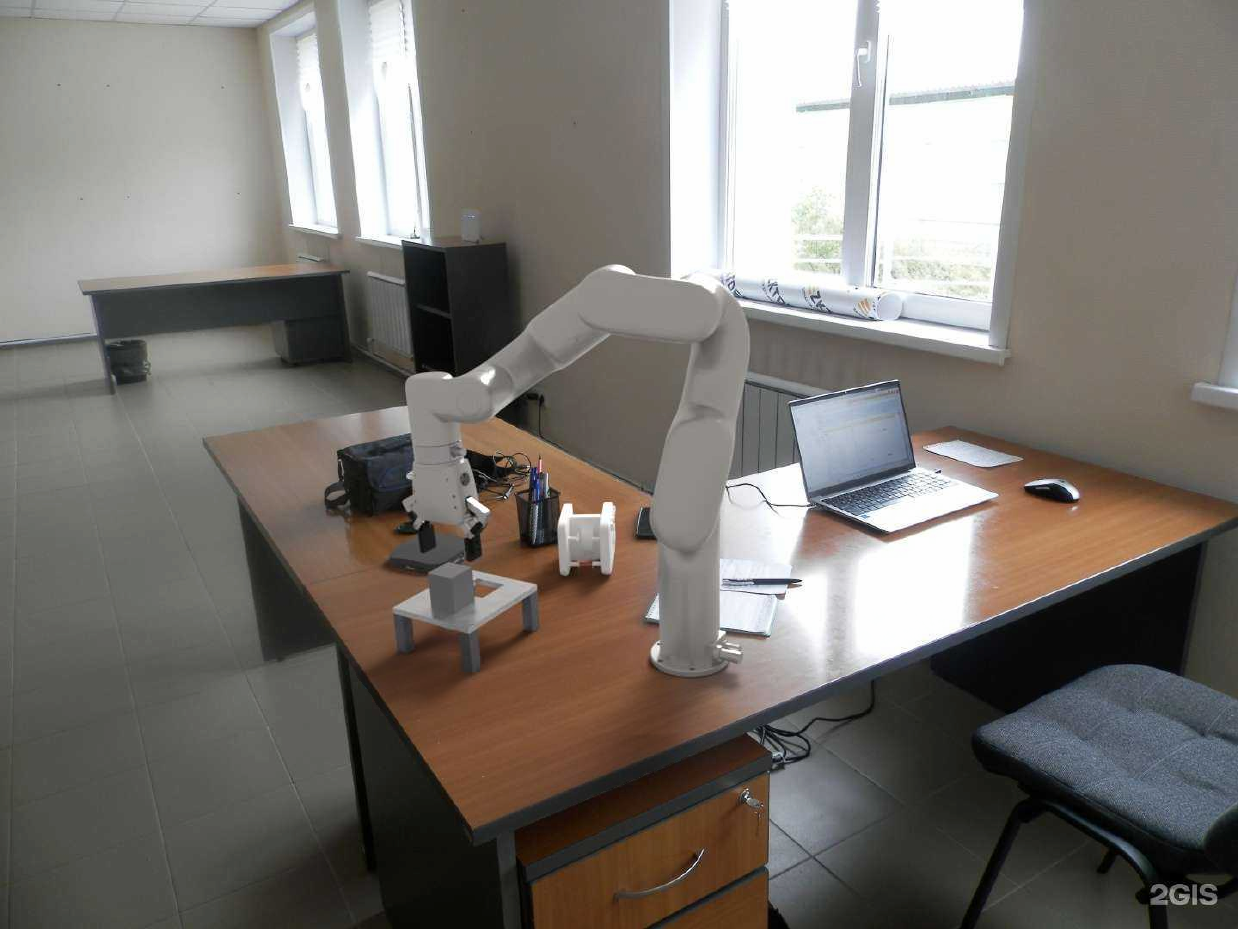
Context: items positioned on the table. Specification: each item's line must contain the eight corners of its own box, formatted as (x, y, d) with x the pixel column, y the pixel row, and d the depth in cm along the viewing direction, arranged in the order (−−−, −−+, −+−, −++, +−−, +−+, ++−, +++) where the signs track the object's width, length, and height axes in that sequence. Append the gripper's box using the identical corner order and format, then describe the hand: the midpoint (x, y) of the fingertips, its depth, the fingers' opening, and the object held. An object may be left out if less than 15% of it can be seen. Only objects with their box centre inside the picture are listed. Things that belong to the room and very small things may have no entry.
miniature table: (539, 627, 155) (536, 584, 153) (472, 674, 140) (468, 628, 138) (468, 608, 163) (464, 568, 161) (397, 651, 148) (392, 607, 146)
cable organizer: (567, 551, 188) (564, 499, 185) (617, 550, 188) (615, 498, 184) (559, 581, 174) (556, 524, 170) (613, 580, 173) (611, 523, 170)
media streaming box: (426, 542, 197) (424, 529, 196) (481, 551, 191) (480, 538, 190) (382, 567, 185) (380, 553, 184) (440, 577, 178) (438, 563, 178)
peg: (476, 620, 148) (471, 567, 146) (456, 632, 144) (451, 578, 142) (453, 614, 151) (448, 562, 148) (433, 626, 147) (427, 573, 144)
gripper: (497, 450, 138) (508, 554, 143) (414, 441, 147) (426, 539, 151) (465, 463, 132) (478, 571, 137) (380, 453, 140) (395, 555, 145)
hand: (451, 554), depth 144 cm, fingers open, 9 cm apart
